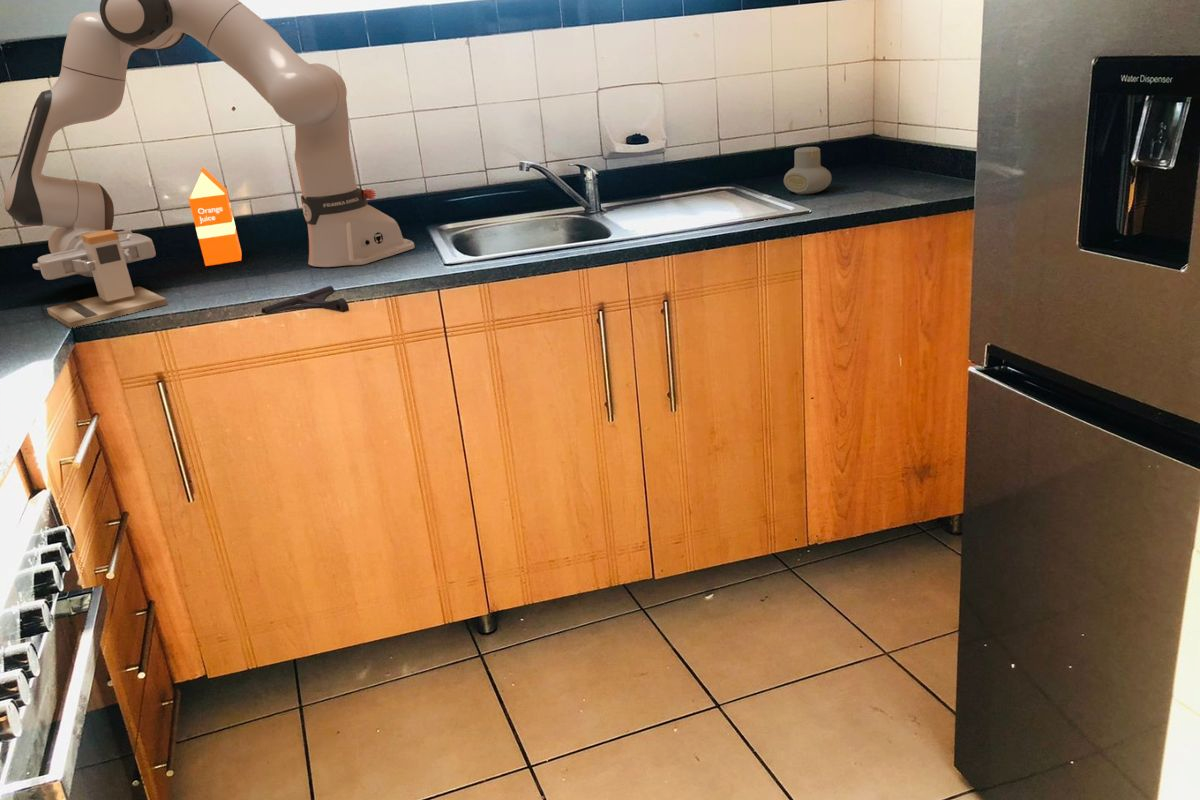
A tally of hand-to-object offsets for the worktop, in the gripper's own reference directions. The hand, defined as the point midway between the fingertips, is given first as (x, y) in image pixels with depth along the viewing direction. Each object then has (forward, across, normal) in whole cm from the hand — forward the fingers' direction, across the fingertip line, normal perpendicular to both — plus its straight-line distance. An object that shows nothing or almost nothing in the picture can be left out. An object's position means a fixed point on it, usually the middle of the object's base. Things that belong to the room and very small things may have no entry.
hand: (108, 262), depth 176 cm
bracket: (+36, +23, +9) cm, 44 cm away
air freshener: (+54, +139, +8) cm, 150 cm away
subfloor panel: (-1, -2, +9) cm, 9 cm away
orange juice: (-22, +28, +9) cm, 37 cm away
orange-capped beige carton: (-1, 0, +7) cm, 7 cm away
